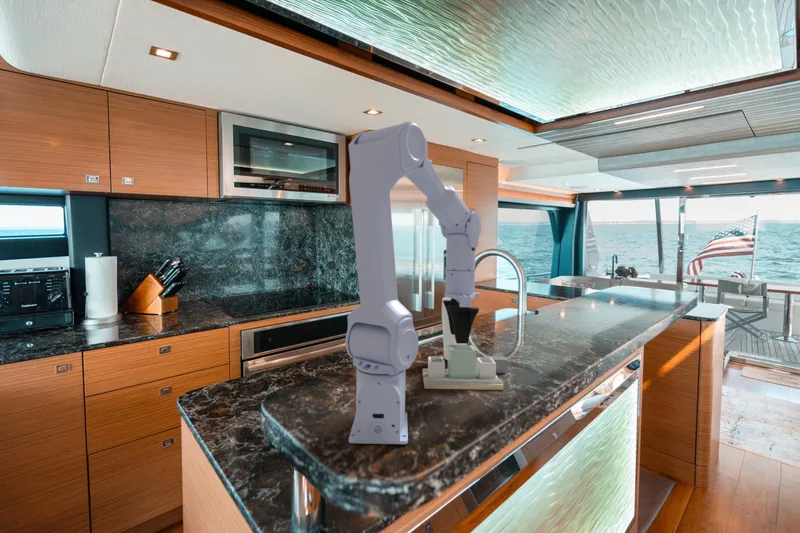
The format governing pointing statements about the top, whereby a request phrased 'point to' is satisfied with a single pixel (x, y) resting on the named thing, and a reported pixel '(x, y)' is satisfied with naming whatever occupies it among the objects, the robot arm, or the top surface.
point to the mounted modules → (483, 370)
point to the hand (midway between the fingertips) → (458, 338)
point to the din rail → (460, 379)
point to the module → (462, 361)
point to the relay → (499, 363)
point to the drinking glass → (447, 331)
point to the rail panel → (461, 384)
